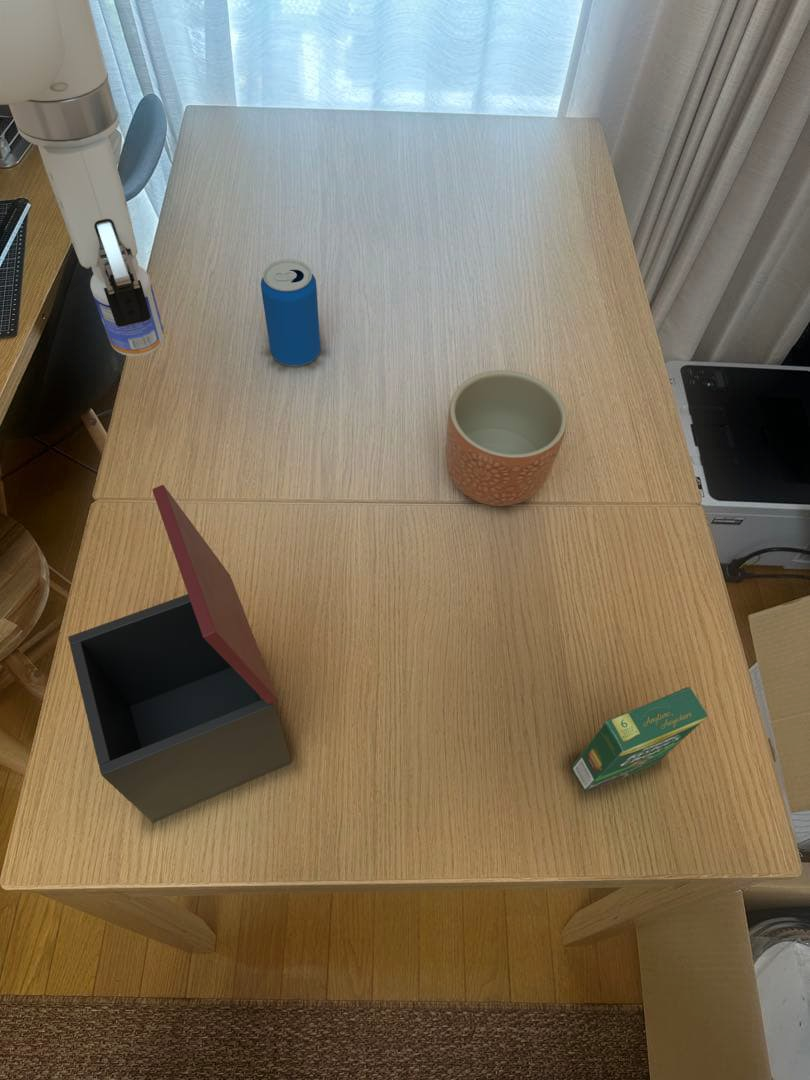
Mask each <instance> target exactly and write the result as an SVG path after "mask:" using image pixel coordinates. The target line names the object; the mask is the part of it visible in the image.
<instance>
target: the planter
mask: <svg viewBox="0 0 810 1080" xmlns="http://www.w3.org/2000/svg"><path fill="white" fill-rule="evenodd" d="M446 421H447V422H446V440H445V450H444V453H445V454H444V455H445V465H446V469H447V472H448V475H449V477H450V479H451V480H452V482H453V483H454V485H455V486H456V487H457V489H458V490H460V492H461V493H462V494H464V495H465V496H467V497H468V498H470V499H472V500H473V501H476V502H478V503H481V504H484V505H487V506H493V507H506V506H512V505H517V504H520V503H522V502H524V501H525V502H526V501H527V500H528V499H530V498H531V497H533V496H534V495H535V494H537V493H538V491H540V490H541V488H542V487H543V486H544V485H545V483H546V481H547V480H548V478H549V476H550V474H551V471H552V468H553V466H554V463H555V461H556V458H557V456H558V453H559V451H560V449H561V446H562V445H563V444H562V443H563V441H564V439H565V435H566V431H567V428H568V427H567V426H568V414H567V409H566V406H565V404H564V402H563V400H562V399H561V397H560V396H559V394H558V393H557V392H556V391H555V390H554V389H553V388H552V387H551V386H550V385H548V384H547V383H545V382H544V381H543V380H541V379H539V378H537V377H535V376H533V375H530V374H527V373H525V372H520V371H515V370H508V369H507V370H500V369H499V370H489V371H485V372H481V373H478V374H475V375H473V376H471V377H470V378H468V379H466V380H465V381H463V382H462V383H461V384H460V385H459V386H458V387H457V389H456V390H455V391H454V393H453V395H452V397H451V400H450V402H449V406H448V412H447V420H446Z"/></svg>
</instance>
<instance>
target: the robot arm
mask: <svg viewBox="0 0 810 1080" xmlns="http://www.w3.org/2000/svg"><path fill="white" fill-rule="evenodd" d="M6 105H8V107H9V109H10V112H11V115H12V118H13V120H14V123H15V126H16V129H17V131H18V134H19V135H20V136H21V137H22V138H23V139H24V140H25V141H27V142H28V143H30V144H32V145H35V146H37V147H38V150H39V153H40V158H41V160H42V163H43V167H44V169H45V172H46V175H47V178H48V181H49V184H50V185H51V190H52V192H53V195H54V199H55V200H56V203H57V206H58V208H59V211H60V213H61V216H62V220H63V222H64V224H65V227H66V230H67V233H68V235H69V238H70V240H71V244H72V246H73V249H74V252H75V255H76V257H77V259H78V262H79V265H81V267H83V268H85V269H86V270H87V269H90V268H92V267H94V266H97V263H98V265H99V267H100V270H101V273H102V276H103V279H104V282H105V285H106V288H104V291H105V294H106V297H107V300H108V303H109V306H110V309H111V312H112V315H113V317H114V320H115V323H116V325H117V326H118V327H122V326H126V325H130V324H135V323H139V322H143V321H147V320H149V319H150V317H151V316H150V313H149V309H148V306H147V302H146V299H145V295H144V292H143V288H142V285H141V282H140V280H138V279H137V276H136V273H135V270H134V266H133V263H132V260H131V256H132V258H133V259H134V258H135V256H136V257H137V255H138V253H139V252H138V245H137V242H136V241H137V240H136V237H135V232H134V227H133V224H132V220H131V214H130V211H129V207H128V202H127V199H126V196H125V195H126V194H125V191H124V187H123V183H122V180H121V176H120V172H119V168H118V165H117V161H116V158H115V154H114V151H113V147H112V143H111V140H110V136H111V135H112V134H113V133H114V132H116V130H117V128H118V127H119V124H120V121H121V120H120V115H119V111H118V107H117V104H116V99H115V95H114V92H113V87H112V84H111V80H110V77H109V71H108V69H107V64H106V61H105V58H104V54H103V49H102V45H101V42H100V38H99V34H98V30H97V27H96V22H95V18H94V16H93V11H92V7H91V4H90V0H0V106H6ZM121 245H122V248H123V251H121V250H120V247H119V246H121ZM102 249H104V251H105V253H106V254H104V255H100V253H99V250H102ZM124 261H125V262H124ZM125 263H126V265H125ZM106 265H110V268H111V271H112V274H111V275H110V277H109V274H108V271H107V268H106ZM126 266H127V268H126ZM127 269H128V271H127Z"/></svg>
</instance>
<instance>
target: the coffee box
mask: <svg viewBox="0 0 810 1080" xmlns="http://www.w3.org/2000/svg"><path fill="white" fill-rule="evenodd" d="M707 718H708V713H707V711H706V710H705V709H704V707H703V705H702V703H701V702H700V701H699V699H698V698H697V696H696V694H695V693H694V691H693V689H692V688H691V687H690V686H686V687H684V688H682V689H680V690H677V691H675V692H672V693H670V694H667V695H665V696H662V697H661V698H658V699H656V700H653V701H651V702H648V703H646V704H644V705H641V706H639V707H636V708H634V709H632V710H629V711H627V712H624V713H622V714H620V715H618V716H615V717H613V718H611V719H608V720H606V721H605V722H604V724H603V725H602V726H601V727H600V729H599V730H598V731H597V732H596V734H595V736H593V738H592V739H591V740H590V742H589V743H588V745H587V746H586V747H585V748H584V750H583V751H582V752H581V753H580V755H579V756H578V757H577V758H576V760H575V761H574V763H573V764H572V765H571V771H572V772H573V774H574V775H575V778H576V779H577V781H578V783H579V784H580V786H581V788H582V789H583V791H584V793H585V794H587V793H590V792H592V791H594V790H597V789H599V788H602V787H604V786H608V785H610V784H612V783H614V782H617V781H619V780H621V779H624V778H627V777H628V776H631V775H633V774H636V773H639V772H642V771H644V770H645V769H648V768H651V767H653V766H655V765H658V764H659V763H660V762H661V760H663V759H664V758H665V757H666V756H668V754H669V753H670V752H671V751H672V750H673V749H674V748H676V746H678V744H680V743H681V742H682V741H683V740H684V739H685V738H687V736H689V735H690V734H691V733H692V732H693V731H695V730H696V728H697V727H698V726H699V725H701V723H703V722H704V721H705V720H707Z"/></svg>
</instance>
